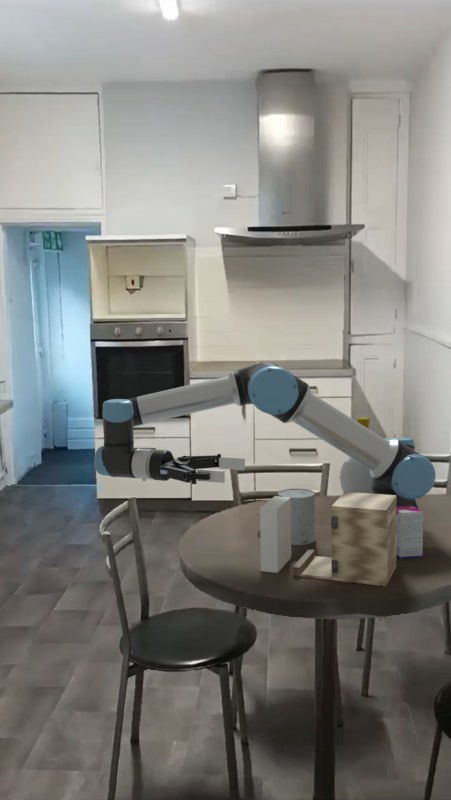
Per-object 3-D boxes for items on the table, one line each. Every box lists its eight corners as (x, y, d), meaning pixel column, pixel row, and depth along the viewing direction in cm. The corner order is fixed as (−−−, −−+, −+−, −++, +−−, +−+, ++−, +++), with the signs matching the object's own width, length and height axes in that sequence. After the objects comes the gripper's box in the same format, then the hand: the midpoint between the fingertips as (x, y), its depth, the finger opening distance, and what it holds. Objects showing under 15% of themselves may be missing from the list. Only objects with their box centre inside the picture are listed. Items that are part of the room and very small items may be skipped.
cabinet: (396, 566, 187) (396, 495, 185) (384, 588, 174) (385, 511, 172) (308, 557, 195) (307, 489, 193) (291, 577, 182) (290, 504, 179)
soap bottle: (390, 500, 245) (390, 415, 241) (385, 508, 237) (385, 420, 233) (343, 497, 250) (343, 414, 246) (337, 505, 241) (336, 419, 238)
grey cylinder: (313, 545, 204) (313, 498, 202) (276, 544, 206) (275, 497, 204) (316, 534, 213) (316, 489, 212) (281, 533, 215) (280, 488, 214)
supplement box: (423, 557, 193) (424, 511, 191) (400, 559, 192) (400, 513, 191) (414, 550, 199) (414, 505, 197) (391, 552, 198) (391, 506, 196)
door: (291, 557, 196) (290, 497, 193) (277, 572, 185) (276, 509, 183) (270, 555, 197) (270, 495, 195) (256, 570, 187) (255, 507, 185)
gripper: (175, 468, 211) (252, 474, 204) (130, 491, 188) (215, 498, 181) (175, 440, 210) (251, 445, 203) (129, 459, 187) (214, 465, 180)
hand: (234, 470), depth 192 cm, fingers open, 13 cm apart
